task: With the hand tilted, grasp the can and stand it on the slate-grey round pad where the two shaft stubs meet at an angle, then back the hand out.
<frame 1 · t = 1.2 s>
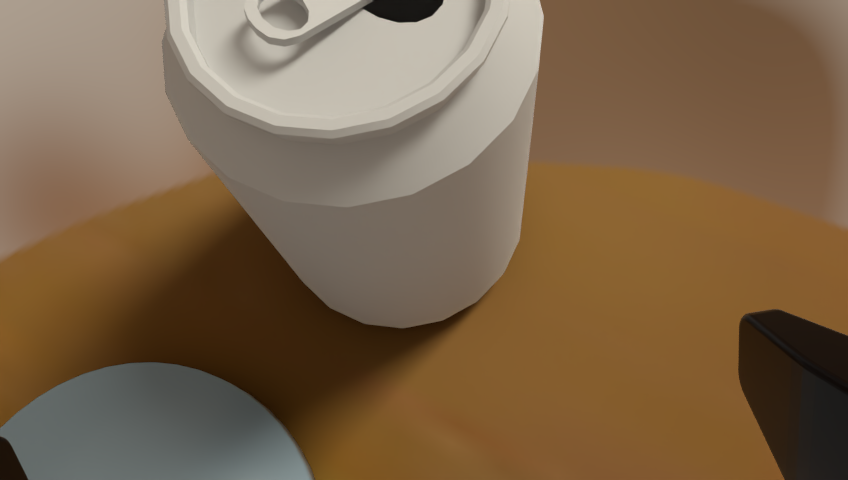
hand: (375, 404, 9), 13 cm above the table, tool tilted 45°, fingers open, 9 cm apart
can: (405, 222, 25), on the table
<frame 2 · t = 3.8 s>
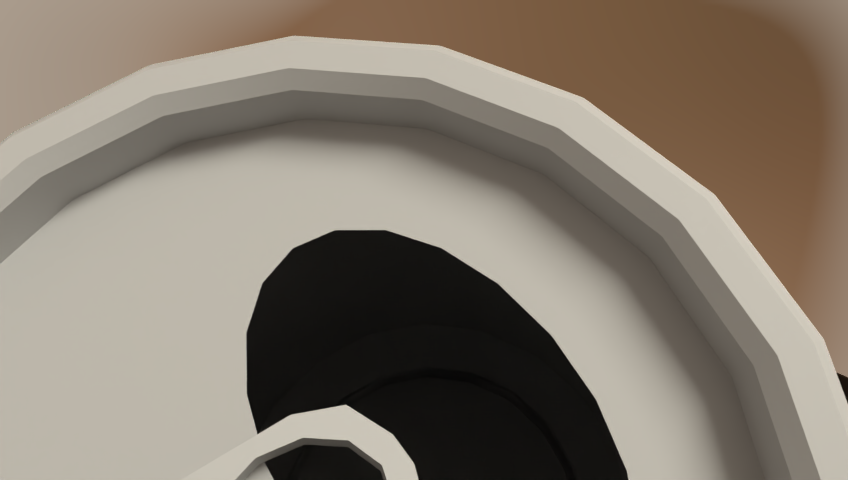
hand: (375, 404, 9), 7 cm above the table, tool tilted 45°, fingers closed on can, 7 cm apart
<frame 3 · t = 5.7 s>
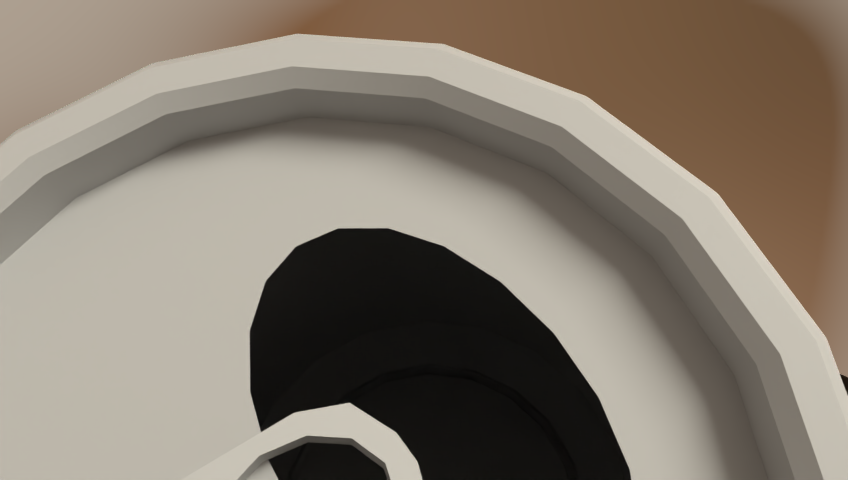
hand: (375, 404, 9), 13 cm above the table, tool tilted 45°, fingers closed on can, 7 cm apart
when the fingers open (9 cm above the table, at t = 8.1 s): can drops 1 cm, resting on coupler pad.
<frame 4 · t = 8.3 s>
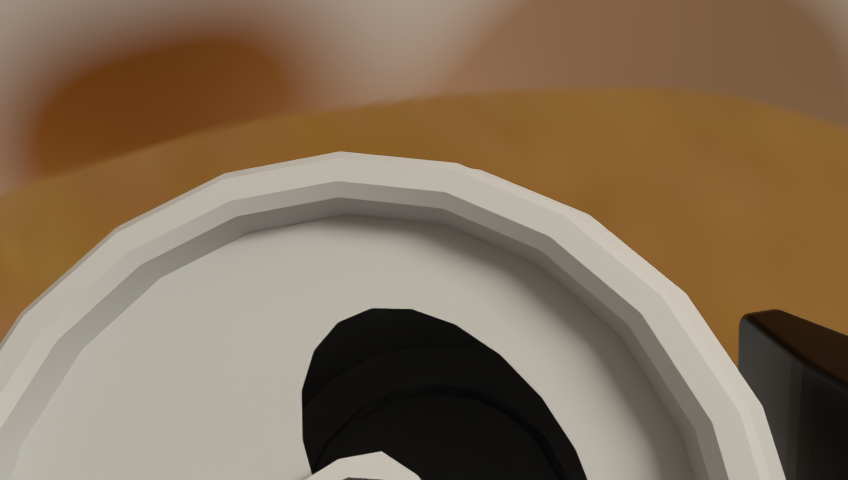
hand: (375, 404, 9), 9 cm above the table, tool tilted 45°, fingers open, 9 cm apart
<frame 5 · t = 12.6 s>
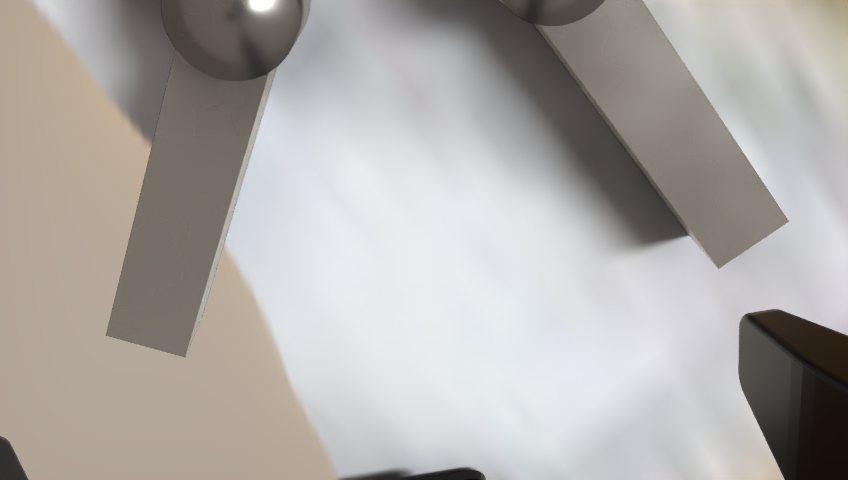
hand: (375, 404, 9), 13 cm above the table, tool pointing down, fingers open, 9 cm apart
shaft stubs: (417, 127, 20), on the table
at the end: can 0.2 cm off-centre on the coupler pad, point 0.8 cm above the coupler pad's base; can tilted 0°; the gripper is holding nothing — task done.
